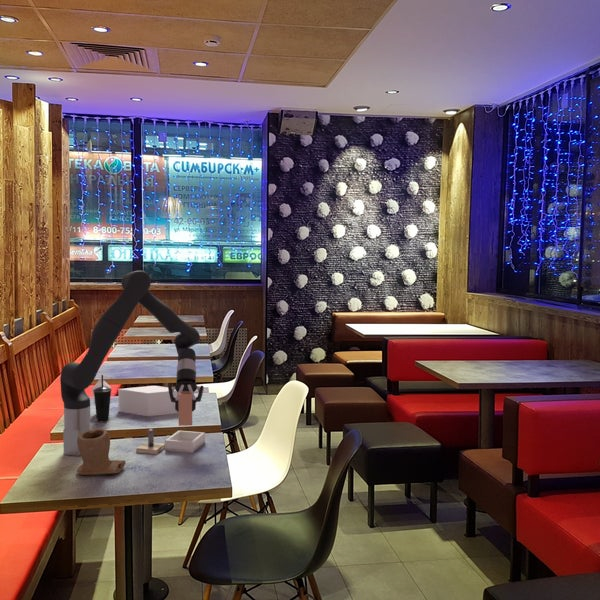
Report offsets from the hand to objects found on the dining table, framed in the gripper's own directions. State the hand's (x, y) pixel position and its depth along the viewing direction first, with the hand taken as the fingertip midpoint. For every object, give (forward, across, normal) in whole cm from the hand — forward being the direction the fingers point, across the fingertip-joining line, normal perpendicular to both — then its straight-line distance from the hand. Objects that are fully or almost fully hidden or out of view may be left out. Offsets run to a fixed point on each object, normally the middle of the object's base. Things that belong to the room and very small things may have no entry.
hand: (185, 410), depth 247 cm
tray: (+9, 0, +12) cm, 15 cm away
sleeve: (+3, 0, +5) cm, 6 cm away
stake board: (+11, -13, +9) cm, 19 cm away
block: (-27, -17, +49) cm, 58 cm away
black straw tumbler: (-26, -39, +47) cm, 67 cm away
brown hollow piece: (+28, -28, -7) cm, 40 cm away
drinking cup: (-18, -37, +39) cm, 57 cm away
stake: (+10, -13, +8) cm, 18 cm away
